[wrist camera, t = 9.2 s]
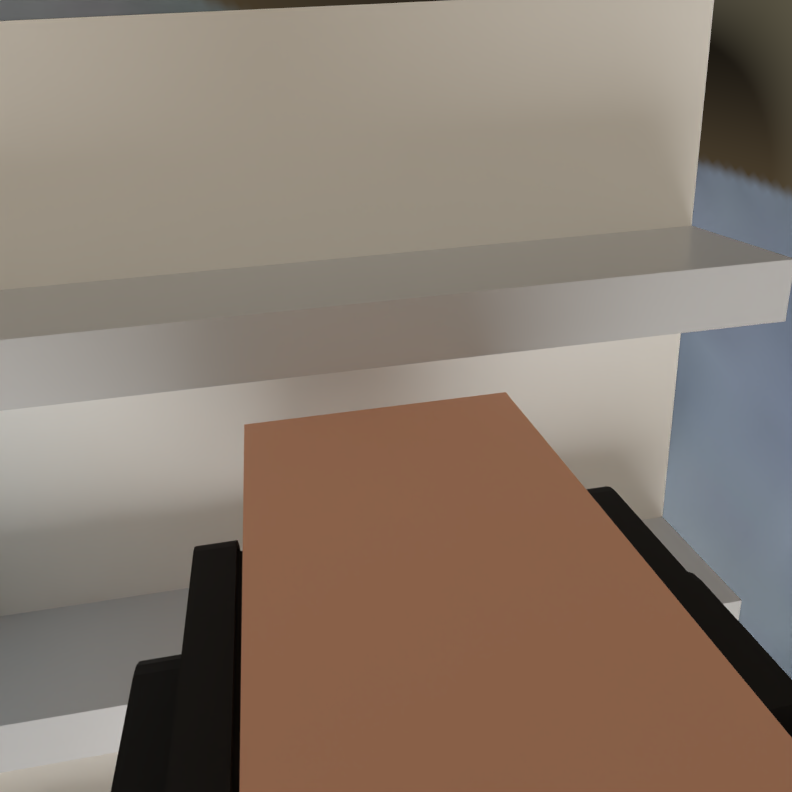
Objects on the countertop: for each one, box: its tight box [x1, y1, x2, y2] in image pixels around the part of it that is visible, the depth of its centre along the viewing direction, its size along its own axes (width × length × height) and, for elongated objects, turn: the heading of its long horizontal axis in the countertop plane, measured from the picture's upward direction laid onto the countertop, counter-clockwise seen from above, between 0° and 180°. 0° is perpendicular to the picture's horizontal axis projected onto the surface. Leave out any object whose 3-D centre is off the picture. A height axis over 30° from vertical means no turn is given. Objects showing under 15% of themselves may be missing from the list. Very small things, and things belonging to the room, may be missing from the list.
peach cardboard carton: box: [239, 392, 792, 792], centre depth 8 cm, size 4×4×8 cm
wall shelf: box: [0, 0, 792, 792], centre depth 14 cm, size 16×22×7 cm
